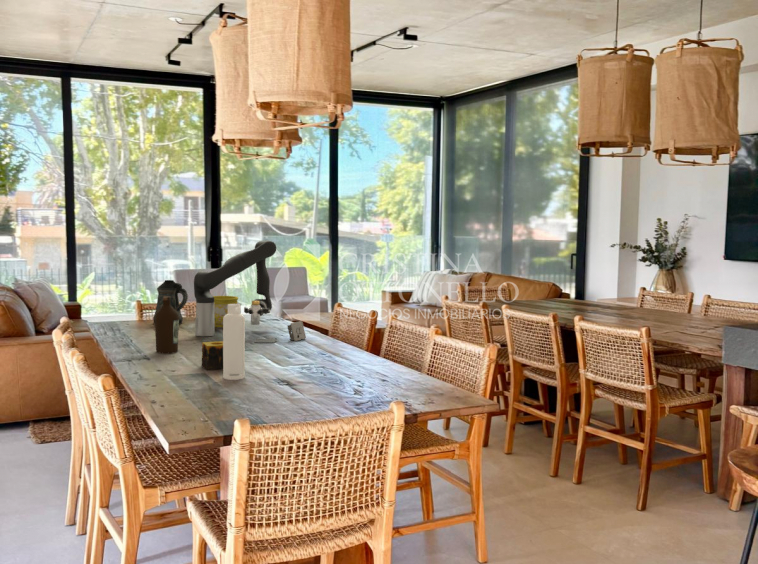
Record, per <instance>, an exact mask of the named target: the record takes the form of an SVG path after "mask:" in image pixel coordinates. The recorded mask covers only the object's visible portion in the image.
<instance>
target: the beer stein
mask: <svg viewBox="0 0 758 564" xmlns="http://www.w3.org/2000/svg"><path fill="white" fill-rule="evenodd" d="M156 291H157V292H158V293H157V301H156V307H155V311H154V314H153V317H152V320H153V324H154V325H155V321H154V318H155V314H156V312H157V311H158V310H159V309H160V308H161V307H162V306H163V297H170V305H171V306H172V307H173V308H174V309H175V310H176V312H177V313H178V316H179V325H181V324H182V322H183V320H184V319H183V317H184V316H183V314H182V312H181V310H182V309H183V308H184V306H185V305H186V304H187V302H188V297H189V295H188V292H187V290H186V289H184V288H183V286H182V284H181V283H179V282H175V281H174V280H172V279H166V280H164V282H163V283H161V284H160V285H159V286H158V287H157V288H156ZM179 294H180V295H182V300H181V302H180V298H179Z"/></svg>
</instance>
